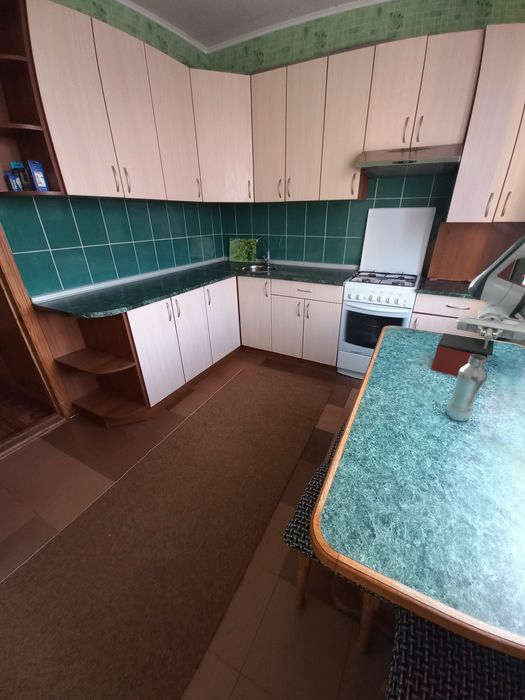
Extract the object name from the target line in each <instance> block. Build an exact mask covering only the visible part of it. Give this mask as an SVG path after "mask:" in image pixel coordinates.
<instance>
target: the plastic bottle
mask: <svg viewBox="0 0 525 700" xmlns="http://www.w3.org/2000/svg"><path fill="white" fill-rule="evenodd" d="M486 359H487V360H488V358H486V357H484V356H482V355H479V354H472V355H471V356H470V358H469V360H468V362H469V363H467V364H465V365H464V366H462V367H461V368H460V370H459V372H458V377H457V376H456V377H457V379H456V384H455V387H454V391H453V393H452V395H451V396H450V398H449V400H448V401H447V404H446V406H445V407H446V408H445V412H446V414H447V416H448V417H449V418H451V419H452V420H455V421H457V422H465V421H467V420H470V418H471V417H472V416H473V413H474V405H475V402H476V398H477V396H478V394H479V392H480V389H481V388H482V387H483V385H484V383H485V382H486V380H487V371H486V370H485V366H486V363H487V360H486ZM485 362H486V363H485ZM483 366H484V367H483Z"/></svg>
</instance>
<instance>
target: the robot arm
mask: <svg viewBox="0 0 525 700" xmlns="http://www.w3.org/2000/svg"><path fill="white" fill-rule="evenodd" d="M523 258H525V235H523V236H522V237H520V238H519V239H518V240H516V241H515V242H514V243H513V244H512V245H510V246H509V248H507V249H506V250H505V251H504V252H502V254H501V255H500V256H498V257H497V259H496V260H495V261H494V262H492V263H491V264H490V265H489V266H488V267H487V268H486V269H485V270H483V271H482V272H481V273H480V274H478V275H477V276H476V277H475V278H473V280H471V282H470V284H469V285H468V287H467V292H468V294H469V297H470V298H471V299H474V300H477V301H481V302H483V303H485V304H484V305H482V307H481V308H480V309H479V311H478V313H477V316H469V315H462V316H459V317H457V319H456V323H455V327H454V328H455V329H456V330H459V331H463V332H469V333H475V334H478V335H479V336H480V337H485V333H486V329H488V328H491V329H492V330H493V334H492V339H496V340H497V339H498V338H501V339H502V338H503V339H508V340H513V341H518V342H524V341H525V323H524V319H523V318H520V317H516V315H517V314H519V313H520V312H521V310H522V309H523V308H524V307H525V286H522V285H519V284H516V283H514V282H512V281H508V280H506V279H504V278H501V277H498V275H499V274H501V272H502V271H504V270H505V269H506V268H507V267H508V266H509V265H510V264H511V263H513V262H515V261H516V260H519V259H523Z"/></svg>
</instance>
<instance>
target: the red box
mask: <svg viewBox="0 0 525 700" xmlns="http://www.w3.org/2000/svg"><path fill="white" fill-rule="evenodd" d="M472 354H479V355H482V356H484V357H486V358H487V359H486V362H485V364H486V363H487V361H488V358H489V355H486V354H481V353H475V352H469V351H464V350H458V349H453V348H447V347H441V346H438V345H437V347H436V351H435V354H434V358H433V361H432V365H431V368H430V370H431V371H434V372H435V371H436V372H439V373H442V374H446V375H449V376H453V377H458V372H459V370H460V368H461V367H462V366H464V365H465V364H467V363H469V362H468V360H469V358H470V356H471V355H472ZM483 367H484V368H485V366H483Z"/></svg>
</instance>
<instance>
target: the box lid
mask: <svg viewBox="0 0 525 700" xmlns="http://www.w3.org/2000/svg"><path fill="white" fill-rule="evenodd" d="M492 334H493V330H492V329H491V328H488V329H486V333H485V336H483V338H478V337H472V336H465V335H459V334H452V333H445V332H443V334H442V335H441V337H440V339H439V342H438V344H437V347H438V346H441V347H447V348H453V349H458V350H464V351H469V352H475V353H481V354H486V355H488V356H493V354H494V353H493V352H494V346H495V345H494V344H495V340H492V339H493V338H492Z"/></svg>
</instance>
